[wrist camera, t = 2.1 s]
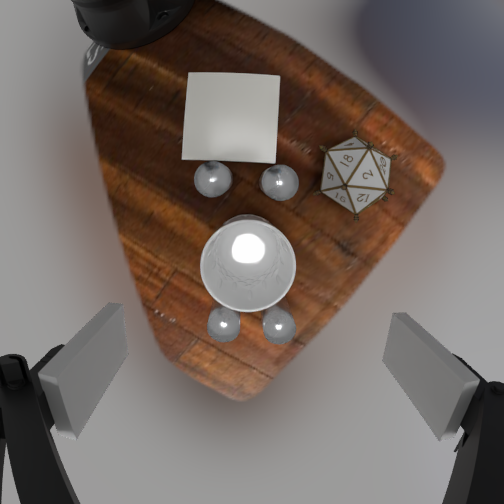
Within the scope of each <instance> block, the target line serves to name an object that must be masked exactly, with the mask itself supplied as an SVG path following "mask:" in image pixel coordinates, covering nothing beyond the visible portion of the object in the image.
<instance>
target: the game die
mask: <svg viewBox="0 0 504 504" xmlns="http://www.w3.org/2000/svg"><path fill="white" fill-rule="evenodd" d="M357 132H358V131H356V129H354V131H353V135H354V137H352V138H350V139H348V140H346V141H344V142H342V143H340V144H338V145H336V146H334V147H332V148H330V149H326V147H324V146H320V145H319V147H320V150H322V151H324V152H325V157H324V159H323V161H324V165H323V172H322V179H321V186H320V190H317V191H315V192H314V194H313V195H317V196H318V195H320V193H323V194H324V195H326V196H327V197H329V198H331V199H332V200H334V201H335V202H337V203H338V204H340V205H341V206H343V207H344V208H346V209H347V210H349V211H350V212H352V213H353V214H355V216H354V221H355V223H357V222H358V220H359V219H358V218H359V217H358V214H360V213H361V212H362V211H364V210H365V209H367V208H368V207H370V206H371V205H373V204H374V203H376V202H377V201H379V200H380V199H381V198H382V200H384V201H388V198H387V197H386V196H384V195H385V194H386V193H387V192H388V193H389V194H391V195H392V194H395V193H394V191H393V189H391V188H390V189H389V181H390V171H391V161H392V160H395V159H396V158H397V157H398V155H393V156H391V157H389V156H387V155H386V154H384V153H383V152H381V151H379V150H378V149H376V148H375V147H373V146H374V145H373V143H372V142H368V143H367V142H365V141H363V140H362V139H360V138H358V137H357Z"/></svg>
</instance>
